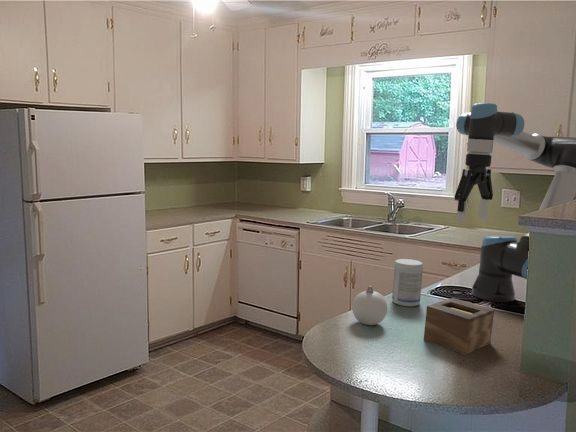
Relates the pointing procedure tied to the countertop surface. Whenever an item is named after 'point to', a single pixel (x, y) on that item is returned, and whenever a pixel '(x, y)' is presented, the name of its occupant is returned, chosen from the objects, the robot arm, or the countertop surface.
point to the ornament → (369, 307)
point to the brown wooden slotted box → (458, 325)
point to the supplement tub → (407, 282)
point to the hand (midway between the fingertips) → (471, 220)
